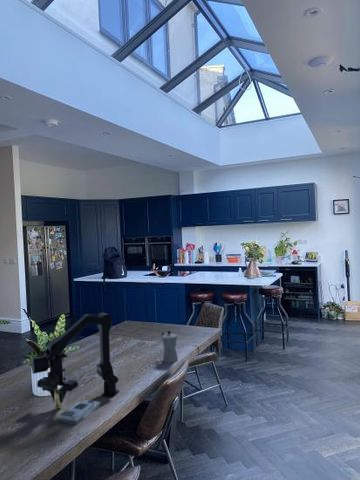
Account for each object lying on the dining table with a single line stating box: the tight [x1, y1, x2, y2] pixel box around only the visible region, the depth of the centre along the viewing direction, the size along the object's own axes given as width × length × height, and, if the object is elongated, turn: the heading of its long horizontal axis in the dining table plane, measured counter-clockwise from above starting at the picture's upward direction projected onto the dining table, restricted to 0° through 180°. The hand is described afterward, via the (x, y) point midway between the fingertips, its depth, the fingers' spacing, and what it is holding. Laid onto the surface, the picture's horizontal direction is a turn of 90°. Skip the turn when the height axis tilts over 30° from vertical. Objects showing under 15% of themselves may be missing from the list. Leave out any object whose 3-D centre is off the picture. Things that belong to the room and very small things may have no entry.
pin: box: [54, 387, 63, 409], centre depth 171 cm, size 3×3×8 cm
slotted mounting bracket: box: [59, 399, 101, 426], centre depth 165 cm, size 18×8×4 cm, turn 159°
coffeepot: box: [161, 330, 178, 364], centre depth 229 cm, size 15×9×18 cm, turn 33°
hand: (58, 402), depth 171 cm, fingers closed on pin, 3 cm apart
